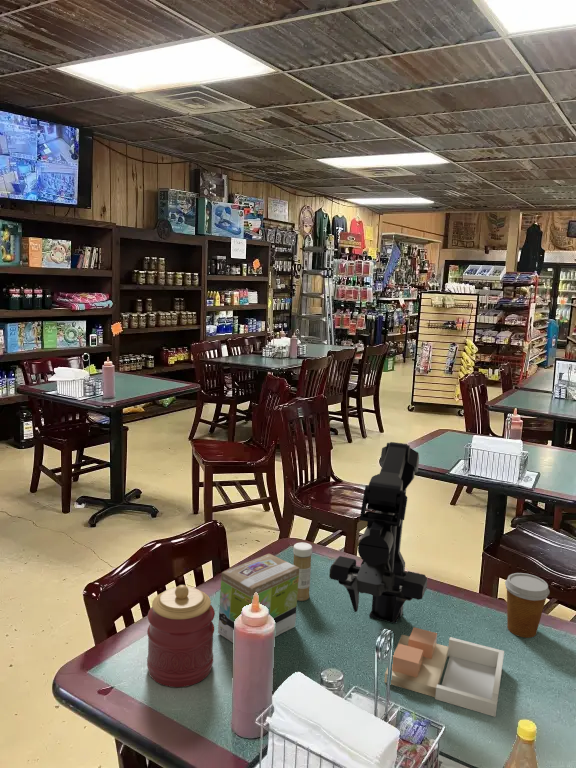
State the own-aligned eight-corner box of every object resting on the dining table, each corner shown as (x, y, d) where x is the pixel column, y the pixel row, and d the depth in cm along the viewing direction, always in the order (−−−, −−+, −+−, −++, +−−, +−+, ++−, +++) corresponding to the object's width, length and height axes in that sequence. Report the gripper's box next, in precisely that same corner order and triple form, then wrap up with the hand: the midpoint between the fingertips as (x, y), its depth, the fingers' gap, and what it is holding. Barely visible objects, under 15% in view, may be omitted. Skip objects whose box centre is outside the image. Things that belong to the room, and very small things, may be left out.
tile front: (391, 670, 125) (393, 656, 125) (397, 656, 130) (398, 643, 129) (417, 677, 123) (418, 663, 123) (422, 663, 128) (423, 650, 127)
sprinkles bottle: (306, 591, 158) (309, 541, 156) (311, 601, 154) (314, 549, 151) (289, 592, 157) (291, 542, 155) (293, 602, 153) (296, 550, 150)
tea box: (248, 654, 131) (251, 588, 129) (217, 634, 138) (219, 571, 135) (297, 627, 142) (300, 565, 140) (265, 609, 149) (268, 550, 146)
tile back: (407, 652, 131) (408, 639, 131) (412, 639, 136) (413, 627, 135) (431, 658, 129) (433, 645, 129) (436, 646, 134) (437, 633, 133)
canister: (216, 650, 132) (219, 571, 129) (208, 690, 119) (211, 604, 116) (154, 647, 132) (155, 568, 129) (139, 687, 119) (140, 601, 116)
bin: (435, 699, 120) (436, 680, 120) (448, 654, 135) (449, 637, 134) (495, 716, 116) (497, 697, 115) (502, 668, 131) (504, 651, 130)
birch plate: (384, 682, 124) (385, 673, 124) (401, 642, 138) (402, 634, 138) (435, 697, 121) (436, 688, 120) (447, 655, 134) (448, 646, 134)
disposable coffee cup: (520, 645, 139) (527, 595, 137) (491, 623, 148) (496, 575, 146) (553, 637, 143) (559, 588, 141) (522, 615, 152) (528, 569, 150)
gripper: (322, 549, 121) (317, 624, 124) (420, 570, 114) (412, 649, 117) (340, 528, 131) (335, 598, 134) (430, 547, 124) (424, 620, 127)
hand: (374, 616), depth 128 cm, fingers open, 8 cm apart
